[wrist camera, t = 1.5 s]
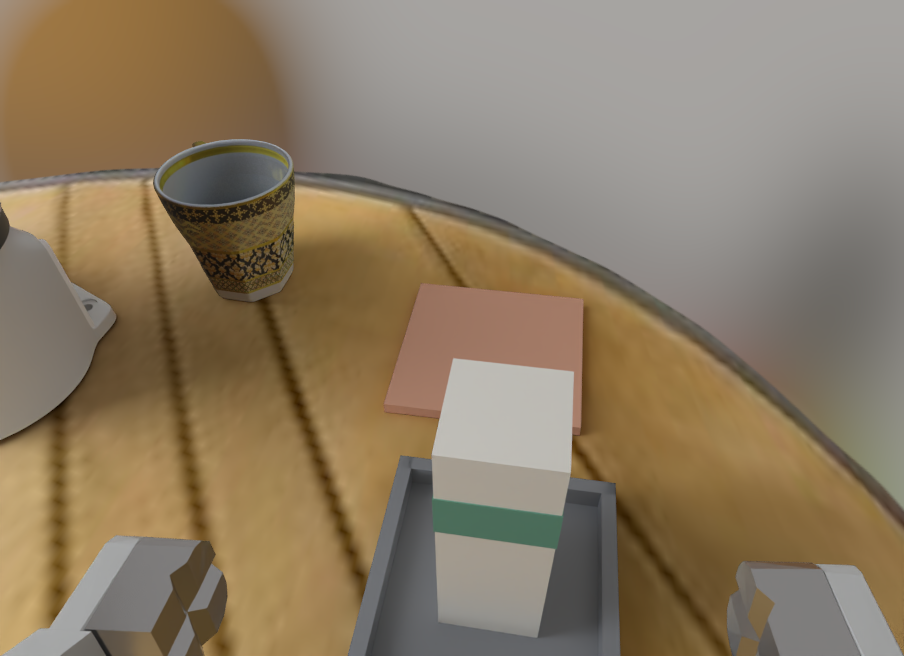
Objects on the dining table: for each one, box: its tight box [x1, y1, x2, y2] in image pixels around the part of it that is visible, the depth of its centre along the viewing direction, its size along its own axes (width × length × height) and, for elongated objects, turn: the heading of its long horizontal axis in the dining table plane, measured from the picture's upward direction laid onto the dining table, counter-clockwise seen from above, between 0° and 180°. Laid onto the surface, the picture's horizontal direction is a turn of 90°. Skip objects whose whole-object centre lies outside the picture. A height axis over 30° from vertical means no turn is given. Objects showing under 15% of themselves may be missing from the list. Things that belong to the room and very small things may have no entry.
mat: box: [384, 283, 583, 435], centre depth 48 cm, size 13×13×1 cm
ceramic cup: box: [153, 139, 295, 302], centre depth 53 cm, size 13×10×10 cm
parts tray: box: [348, 456, 620, 656], centre depth 34 cm, size 13×13×2 cm
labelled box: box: [432, 358, 574, 638], centre depth 30 cm, size 5×5×14 cm
